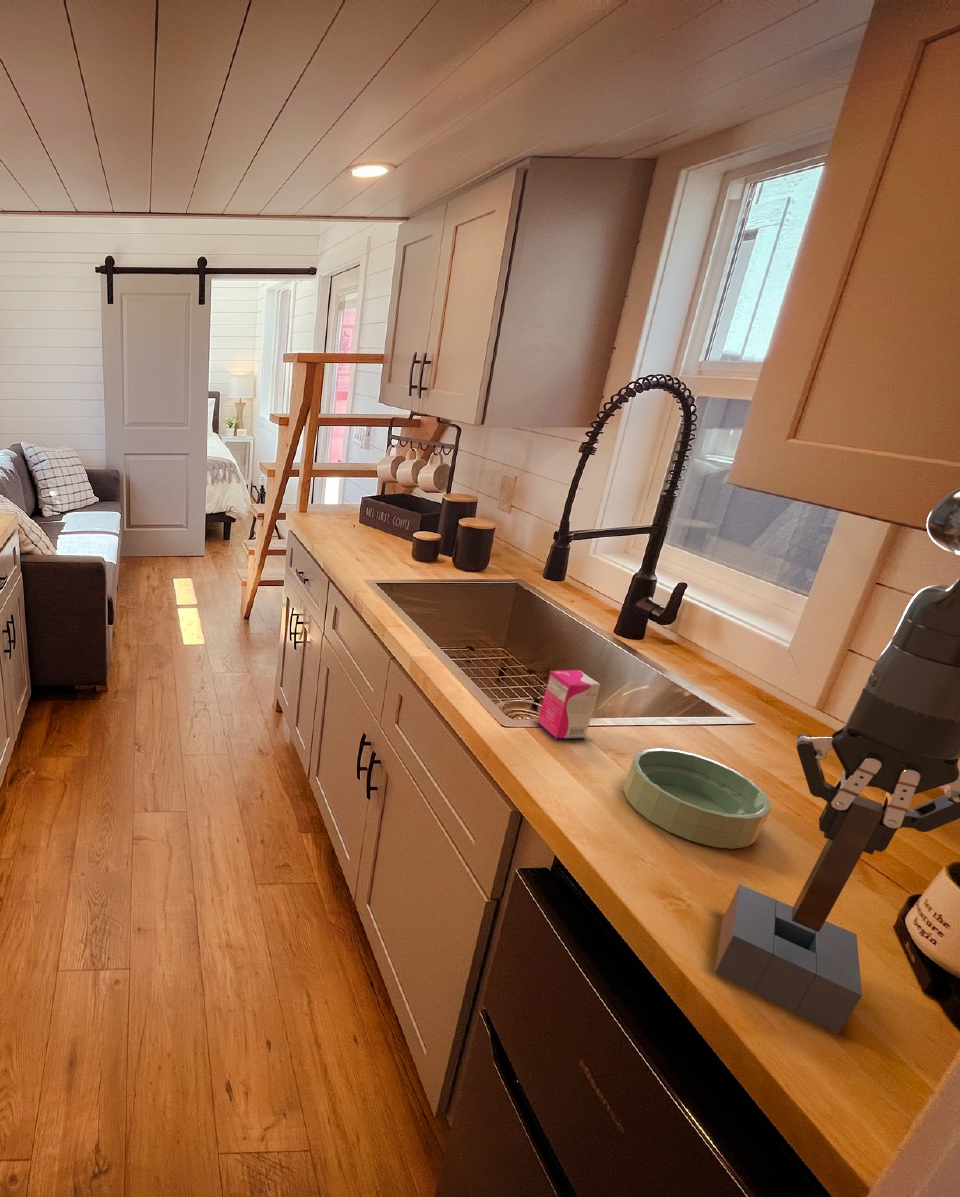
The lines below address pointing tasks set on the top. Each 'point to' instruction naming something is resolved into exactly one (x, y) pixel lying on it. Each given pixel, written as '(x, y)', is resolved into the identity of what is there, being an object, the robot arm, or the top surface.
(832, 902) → the rectangular peg
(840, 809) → the robot arm
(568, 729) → the supplement box
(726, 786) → the bowl
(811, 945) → the holder
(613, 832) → the top surface
